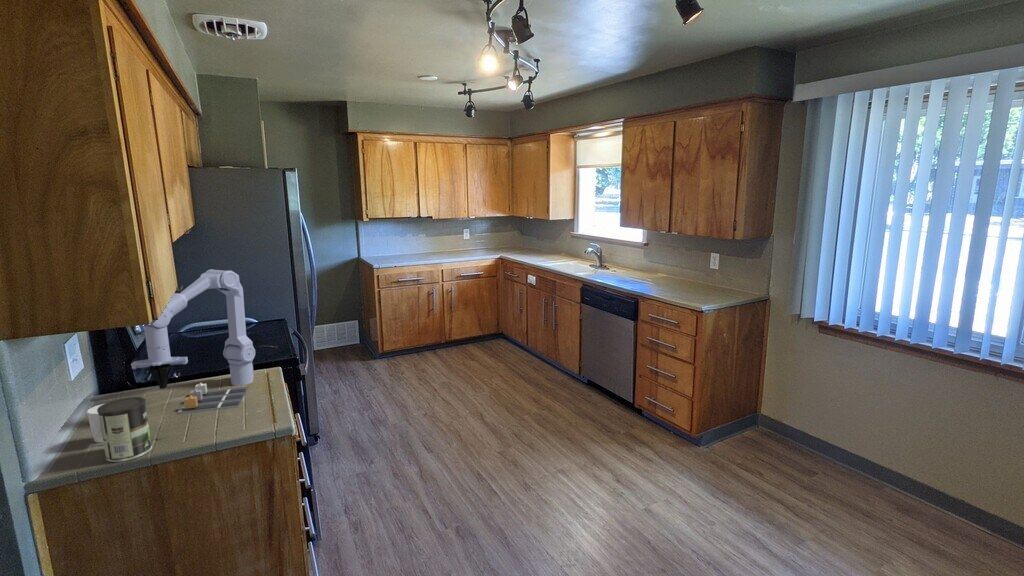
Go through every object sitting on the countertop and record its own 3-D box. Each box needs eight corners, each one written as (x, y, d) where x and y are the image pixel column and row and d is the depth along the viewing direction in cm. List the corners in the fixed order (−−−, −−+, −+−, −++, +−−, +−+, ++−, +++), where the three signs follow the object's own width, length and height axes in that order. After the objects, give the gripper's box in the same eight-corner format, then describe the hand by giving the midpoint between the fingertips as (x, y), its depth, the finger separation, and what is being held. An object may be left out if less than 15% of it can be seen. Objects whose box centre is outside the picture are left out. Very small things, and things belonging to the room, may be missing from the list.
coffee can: (148, 440, 143) (141, 393, 141) (155, 452, 136) (149, 404, 133) (102, 452, 136) (94, 404, 133) (108, 466, 129) (99, 415, 126)
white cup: (121, 431, 148) (116, 400, 146) (131, 439, 144) (126, 406, 142) (88, 442, 142) (82, 409, 140) (97, 450, 137) (92, 416, 136)
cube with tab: (197, 392, 173) (196, 383, 172) (207, 391, 174) (206, 382, 173) (195, 394, 171) (194, 385, 170) (205, 393, 172) (204, 384, 171)
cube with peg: (192, 399, 167) (191, 389, 167) (202, 398, 168) (201, 388, 168) (190, 401, 165) (189, 391, 165) (201, 400, 166) (200, 390, 166)
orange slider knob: (187, 406, 162) (186, 395, 161) (197, 404, 163) (196, 394, 162) (185, 408, 160) (184, 398, 159) (196, 407, 161) (194, 397, 160)
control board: (191, 396, 175) (191, 392, 175) (248, 389, 180) (248, 386, 180) (174, 418, 157) (174, 414, 157) (238, 410, 163) (238, 406, 162)
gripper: (125, 352, 149) (131, 395, 152) (181, 347, 154) (186, 389, 156) (134, 345, 156) (140, 386, 158) (187, 341, 160) (192, 381, 163)
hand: (163, 387), depth 158 cm, fingers closed
